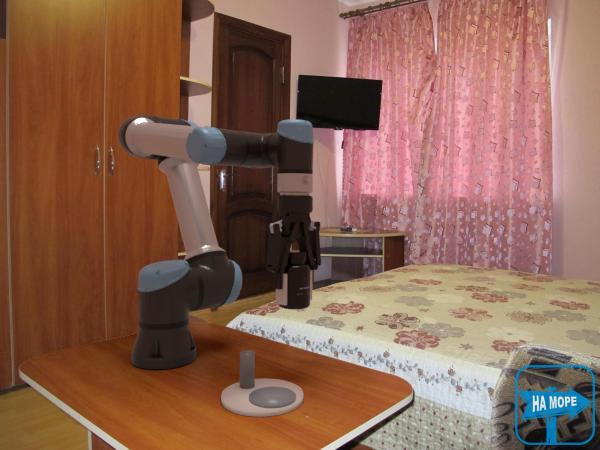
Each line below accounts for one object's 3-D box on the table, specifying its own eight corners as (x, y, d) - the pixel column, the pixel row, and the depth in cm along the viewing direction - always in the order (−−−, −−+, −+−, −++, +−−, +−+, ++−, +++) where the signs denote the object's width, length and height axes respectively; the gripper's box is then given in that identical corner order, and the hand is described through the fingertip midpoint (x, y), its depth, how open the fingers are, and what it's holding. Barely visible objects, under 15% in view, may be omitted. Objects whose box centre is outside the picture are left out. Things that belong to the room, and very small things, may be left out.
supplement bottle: (307, 310, 102) (307, 253, 102) (275, 309, 104) (275, 252, 103) (312, 303, 109) (312, 249, 108) (282, 302, 110) (282, 248, 109)
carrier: (205, 397, 97) (205, 357, 97) (268, 377, 108) (268, 341, 108) (255, 425, 85) (255, 380, 85) (320, 399, 96) (320, 359, 96)
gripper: (271, 194, 95) (271, 312, 97) (338, 194, 109) (337, 297, 111) (247, 193, 101) (247, 305, 102) (314, 194, 114) (313, 292, 116)
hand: (294, 301), depth 106 cm, fingers closed on supplement bottle, 7 cm apart
